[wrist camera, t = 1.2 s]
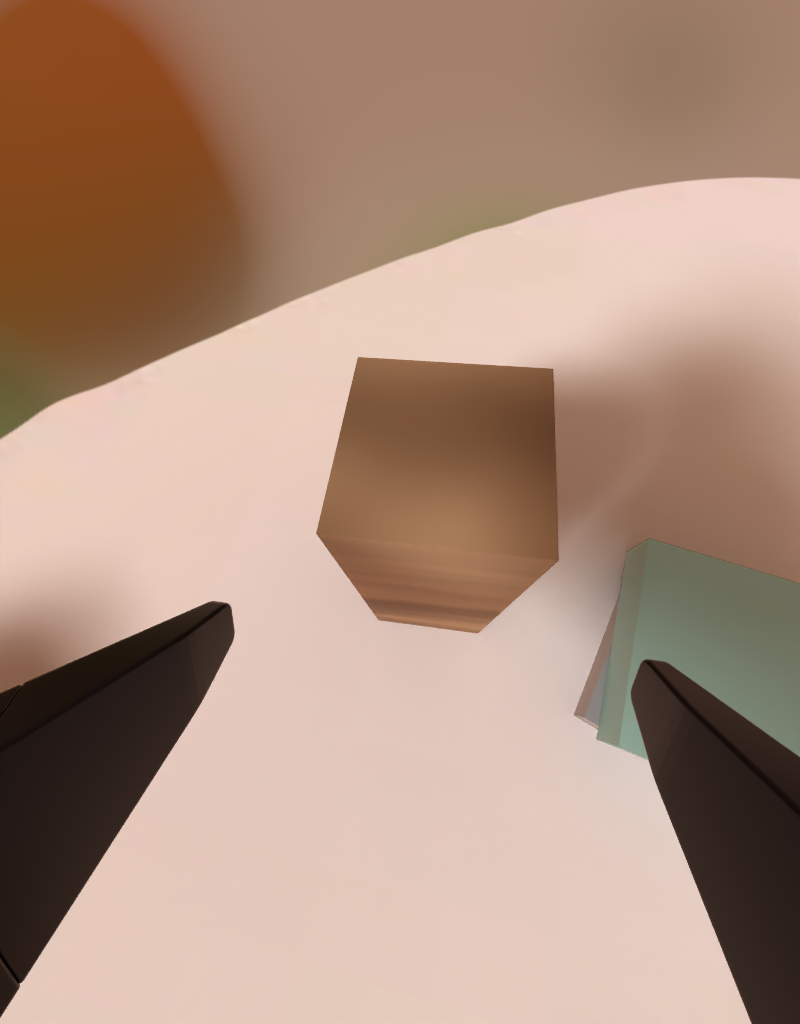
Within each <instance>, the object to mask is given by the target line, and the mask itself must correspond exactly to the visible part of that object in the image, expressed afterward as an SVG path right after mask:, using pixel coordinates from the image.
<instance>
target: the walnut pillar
mask: <svg viewBox="0 0 800 1024" xmlns="http://www.w3.org/2000/svg"><path fill="white" fill-rule="evenodd" d="M316 534H317V535H318V537H319V538H320V539H321V541H322V542H323V543H324V545H325V546H326V548H327V549H328V550H329V552H330V553H331V555H332V556H333V557H334V559H335V560H336V561H337V563H338V564H339V566H340V567H341V568H342V570H343V571H344V573H345V574H346V575H347V577H348V578H349V579H350V581H351V582H352V584H353V585H354V586H355V588H356V589H357V591H358V592H359V593H360V595H361V596H362V598H363V599H364V600H365V602H366V603H367V604H368V606H369V607H370V609H371V610H372V611H373V613H374V614H375V616H376V617H377V618H378V620H382V621H390V622H397V623H405V624H412V625H420V626H427V627H435V628H442V629H450V630H457V631H465V632H472V633H479V632H480V631H481V630H482V629H483V628H484V627H485V626H487V625H488V624H489V623H490V622H491V621H492V620H493V619H494V618H495V617H496V616H498V615H499V614H500V613H501V612H502V611H503V610H504V609H505V608H506V607H508V606H509V605H510V604H511V603H512V602H513V601H514V600H515V599H516V598H517V597H519V596H520V595H521V594H522V593H523V592H524V591H525V590H526V589H527V588H529V587H530V586H531V585H532V584H533V583H534V582H535V581H536V580H537V579H538V578H540V577H541V576H542V575H543V574H544V573H545V572H546V571H547V570H548V569H549V568H551V567H552V566H553V565H554V564H555V563H556V562H557V561H558V560H559V558H558V523H557V487H556V452H555V416H554V380H553V369H546V368H529V367H512V366H496V365H479V364H462V363H446V362H429V361H413V360H396V359H379V358H363V357H358V359H357V364H356V368H355V372H354V376H353V381H352V385H351V389H350V393H349V397H348V402H347V406H346V410H345V414H344V419H343V423H342V427H341V431H340V435H339V440H338V444H337V448H336V452H335V457H334V461H333V465H332V469H331V474H330V478H329V482H328V486H327V490H326V495H325V499H324V503H323V507H322V512H321V516H320V520H319V524H318V529H317V533H316Z"/></svg>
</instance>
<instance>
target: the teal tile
mask: <svg viewBox="0 0 800 1024" xmlns="http://www.w3.org/2000/svg"><path fill="white" fill-rule="evenodd" d="M645 659H651V660H658V661H665V662H667V663H669V664H670V665H672V666H673V667H675V668H676V669H677V670H679V671H680V672H682V673H683V674H684V675H686V676H687V677H689V678H690V679H691V680H693V681H694V682H696V683H697V684H698V685H700V686H701V687H703V688H704V689H705V690H707V691H708V692H710V693H711V694H712V695H714V696H715V697H717V698H718V699H719V700H721V701H722V702H724V703H725V704H726V705H728V706H729V707H731V708H732V709H733V710H735V711H736V712H738V713H739V714H740V715H742V716H743V717H745V718H746V719H748V720H749V721H750V722H752V723H753V724H755V725H756V726H757V727H759V728H760V729H762V730H763V731H764V732H766V733H767V734H769V735H770V736H771V737H773V738H774V739H776V740H777V741H778V742H780V743H781V744H783V745H784V746H785V747H787V748H788V749H790V750H791V751H792V752H794V753H795V754H797V755H798V756H799V757H800V583H796V582H793V581H790V580H786V579H783V578H780V577H776V576H773V575H770V574H766V573H763V572H760V571H756V570H753V569H750V568H746V567H743V566H740V565H736V564H733V563H730V562H726V561H723V560H720V559H716V558H713V557H710V556H706V555H703V554H700V553H696V552H693V551H690V550H686V549H683V548H680V547H676V546H673V545H670V544H666V543H663V542H660V541H656V540H653V539H650V538H648V539H646V540H645V541H643V542H642V543H640V544H638V545H637V546H635V547H634V548H632V549H631V550H629V551H627V554H626V561H625V567H624V573H623V579H622V585H621V591H620V598H619V604H618V610H617V616H616V622H615V628H614V635H613V641H612V647H611V653H610V659H609V665H608V671H607V678H606V684H605V690H604V696H603V702H602V708H601V715H600V721H599V727H598V733H597V740H600V741H602V742H604V743H607V744H609V745H612V746H614V747H617V748H619V749H622V750H624V751H627V752H629V753H632V754H634V755H637V756H639V757H641V758H644V759H646V760H648V756H647V753H646V749H645V746H644V743H643V739H642V736H641V732H640V729H639V725H638V722H637V718H636V715H635V711H634V708H633V705H632V701H631V688H632V685H633V682H634V679H635V677H636V674H637V671H638V669H639V666H640V664H641V662H642V661H643V660H645Z"/></svg>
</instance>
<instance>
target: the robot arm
mask: <svg viewBox="0 0 800 1024" xmlns="http://www.w3.org/2000/svg"><path fill="white" fill-rule="evenodd" d="M233 639H234V624H233V616H232V609H231V606H230V605H229V604H228V603H224V602H217V601H211V602H208V603H206V604H203V605H201V606H199V607H197V608H194V609H192V610H190V611H187V612H185V613H183V614H181V615H178V616H176V617H174V618H171V619H169V620H167V621H165V622H162V623H160V624H158V625H155V626H153V627H151V628H148V629H146V630H144V631H142V632H139V633H137V634H135V635H132V636H130V637H128V638H126V639H123V640H121V641H119V642H116V643H114V644H112V645H110V646H107V647H105V648H103V649H100V650H98V651H96V652H94V653H91V654H89V655H87V656H84V657H82V658H80V659H78V660H75V661H73V662H71V663H68V664H66V665H64V666H62V667H59V668H57V669H55V670H52V671H50V672H48V673H45V674H43V675H41V676H39V677H36V678H34V679H32V680H29V681H27V682H25V683H24V684H23V686H22V685H18V686H15V687H13V688H11V689H9V690H6V691H4V692H2V693H0V1017H1V1016H2V1014H3V1013H4V1011H5V1010H6V1008H7V1006H8V1005H9V1003H10V1002H11V1000H12V999H13V997H14V996H15V994H16V992H17V991H18V989H19V987H20V984H19V983H22V982H23V981H24V979H25V978H26V976H27V975H28V973H29V971H30V970H31V968H32V967H33V965H34V964H35V962H36V961H37V959H38V957H39V956H40V954H41V953H42V951H43V950H44V948H45V946H46V945H47V943H48V942H49V940H50V939H51V937H52V936H53V934H54V932H55V931H56V929H57V928H58V926H59V925H60V923H61V922H62V920H63V918H64V917H65V915H66V914H67V912H68V911H69V909H70V907H71V906H72V904H73V903H74V901H75V900H76V898H77V897H78V895H79V893H80V892H81V890H82V889H83V887H84V886H85V884H86V882H87V881H88V879H89V878H90V876H91V875H92V873H93V872H94V870H95V868H96V867H97V865H98V864H99V862H100V861H101V859H102V858H103V856H104V854H105V853H106V851H107V850H108V848H109V847H110V845H111V843H112V842H113V840H114V839H115V837H116V836H117V834H118V833H119V831H120V829H121V828H122V826H123V825H124V823H125V822H126V820H127V819H128V817H129V815H130V814H131V812H132V811H133V809H134V808H135V806H136V804H137V803H138V801H139V800H140V798H141V797H142V795H143V794H144V792H145V790H146V789H147V787H148V786H149V784H150V783H151V781H152V780H153V778H154V776H155V775H156V773H157V772H158V770H159V769H160V767H161V765H162V764H163V762H164V761H165V759H166V758H167V756H168V755H169V753H170V751H171V750H172V748H173V747H174V745H175V744H176V742H177V740H178V739H179V737H180V736H181V734H182V733H183V731H184V730H185V728H186V726H187V725H188V723H189V722H190V720H191V719H192V717H193V716H194V714H195V712H196V711H197V709H198V707H199V706H200V704H201V702H202V701H203V699H204V697H205V695H206V693H207V691H208V689H209V687H210V685H211V683H212V681H213V680H214V678H215V676H216V674H217V672H218V670H219V668H220V666H221V664H222V662H223V660H224V658H225V656H226V654H227V652H228V650H229V648H230V646H231V644H232V642H233ZM631 701H632V705H633V708H634V711H635V715H636V718H637V722H638V725H639V729H640V732H641V736H642V739H643V743H644V746H645V749H646V753H647V756H648V760H649V763H650V767H651V770H652V773H653V776H654V779H655V782H656V784H657V787H658V790H659V792H660V795H661V797H662V800H663V802H664V805H665V807H666V810H667V812H668V815H669V817H670V820H671V822H672V825H673V827H674V830H675V833H676V835H677V838H678V840H679V843H680V845H681V848H682V850H683V853H684V855H685V858H686V860H687V863H688V865H689V868H690V870H691V873H692V875H693V878H694V880H695V883H696V885H697V888H698V890H699V893H700V895H701V898H702V900H703V903H704V905H705V908H706V910H707V913H708V915H709V918H710V920H711V923H712V925H713V928H714V930H715V933H716V935H717V938H718V940H719V943H720V946H721V948H722V951H723V953H724V956H725V958H726V961H727V963H728V966H729V968H730V971H731V973H732V976H733V978H734V981H735V983H736V986H737V988H738V991H739V993H740V996H741V998H742V1001H743V1003H744V1006H745V1008H746V1011H747V1013H748V1016H749V1018H750V1021H751V1023H752V1024H800V757H799V756H798V755H797V754H795V753H794V752H792V751H791V750H790V749H788V748H787V747H785V746H784V745H783V744H781V743H780V742H778V741H777V740H776V739H774V738H773V737H771V736H770V735H769V734H767V733H766V732H764V731H763V730H762V729H760V728H759V727H757V726H756V725H755V724H753V723H752V722H750V721H749V720H748V719H746V718H745V717H743V716H742V715H740V714H739V713H738V712H736V711H735V710H733V709H732V708H731V707H729V706H728V705H726V704H725V703H724V702H722V701H721V700H719V699H718V698H717V697H715V696H714V695H712V694H711V693H710V692H708V691H707V690H705V689H704V688H703V687H701V686H700V685H698V684H697V683H696V682H694V681H693V680H691V679H690V678H689V677H687V676H686V675H684V674H683V673H682V672H680V671H679V670H677V669H676V668H675V667H673V666H672V665H670V664H669V663H667V662H665V661H658V660H651V659H645V660H643V661H642V662H641V664H640V666H639V669H638V671H637V674H636V677H635V679H634V682H633V685H632V688H631Z"/></svg>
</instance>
